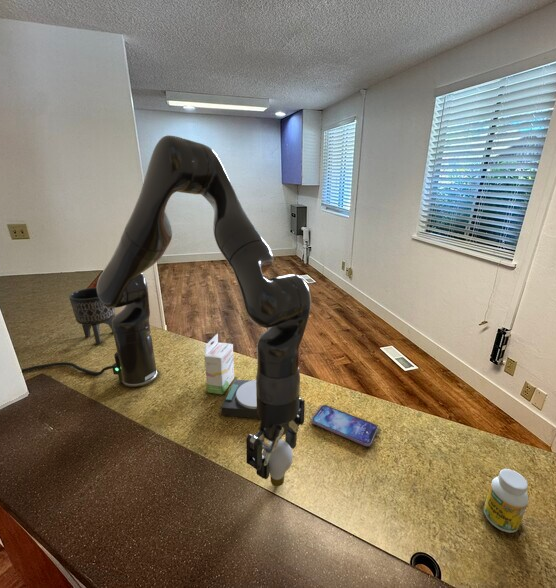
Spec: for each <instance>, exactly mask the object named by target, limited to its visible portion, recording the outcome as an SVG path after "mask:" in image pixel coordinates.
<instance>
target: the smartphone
mask: <svg viewBox="0 0 556 588" xmlns="http://www.w3.org/2000/svg"><path fill="white" fill-rule="evenodd" d="M311 423H312V424H313V425H314V426H317V427H320V428H321V429H324V430H327V431H329V432H331V433H333V434H336V435H339V436H341V437H343V438H346V439H348V440H351V442H355V443H357V444H359V445H362V446H365V447H370V446H371V445H372V444H373V442H374V439H375V437H376V434H377V432H378V426H377V425H376V424H375V423H373V422H370V421H367V420H365V419H362V418H360V417H357V416H355V415H353V414H350V413H347V412H344V411H342V410H339V409H336V408H334V407H332V406H329V405H326V404H322V405H321V406H320V407H319V409H318V410H317V411H316V412H315V414H314V415H313V416H312V418H311Z"/></svg>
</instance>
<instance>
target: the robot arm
mask: <svg viewBox="0 0 556 588" xmlns="http://www.w3.org/2000/svg"><path fill="white" fill-rule="evenodd" d="M175 193H184V194H190V195H201V196H202V197H203V198H204V199H205V200H206V201H207V202H208V204H210V206H211V208H212V209H213V223H212V224H213V226H212V229H213V230H212V231H213V237H214V241H215V243H216V246H217V248H218V249H219V251H220V253H221V254H222V256H223V257H224V259H225V261H226V262H227V264H228V265H229V267H230V269H231V270H232V272H233V274H234V276H235V280H236V283H237V286H238V290H239V293H240V296H241V297H240V298H241V302H242V305H243V308H244V311H245V313H246V315H247V317H248V318H249V319H250V321H251V322H253V323H254V324H255V325H257V326H258V327H261V328H264V329H267V330H265V331H264V332H263V333H262V334H260V336H259V337H258V339H257V342H256V343H257V344H256V359H257V360H256V365H257V366H256V367H257V368H256V376H255V380H256V397H257V414H258V416H259V418H258V419H259V421H260V424H259V428H258V432H256V433H255V434H254V435H253V434H252V433H249V434H247V436H246V439H245V443H246V446H245V447H246V448H245V449H246V450H245V451H246V464H247V465H249V466H251V467H252V468H254V469H255V470H256V475H257V476H258V477H260V478H262V479H264V480H267V479H268V478H269V477H270V473H269V459H270V456H271V454H272V452H275V450H276V447H277V445H278V442H279V440H280V439H282V437H283V436H284V437H285V438H284V439H285V440H284V441H286V442H287V443H288V444H289V445H290V447H291V449H292V450H294V449H296V447H297V439H298V438H297V437H298V436H297V435H298V432H299V430H300V426H303V424H305V423H304V422H305V407H306V405H305V403H306V400H305V399H303V398H301V397H300V395H301V372H300V349H301V348H300V347H301V342H302V340H303V338H304V334H305V331H306V328H307V324H308V320H309V317H310V313H311V309H312V295H311V291H310V287H309V285H308V284H307V282H306V280H305V279H304V278H303V277H302V276H300V275H298V274H295V273H291V274H284V275H283V274H282V275H280V276H276V277H272V278H266V277H265V276H264V275H265V274H266V273H267V272H268V271H269V270H270V269H271V268H272V266H273V264H274V253H273V251H272V250H271V248H270V246H269V245H268V244H267V242H266V241H265V240H264V238H263V236H262V235H261V234H260V232H259V231H258V230H257V228H256V227H255V225H254V224H253V223H252V221H251V219H250V218H249V217H248V215H247V213H246V212H245V210H244V208H243V206H242V204H241V201H240V200H239V197H238V196H237V193H236V190H235V189H234V187H233V184H232V182H231V180H230V179H229V176H228V174H227V172H226V170H225V167H224V165H223V164H222V162H221V160H220V158H219V157H218V154H217V153H216V152H215V151H214V149H212V148H211V147H210V146H208V145H206V144H204V143H200V142H198V141H197V142H196V141H193V140H190V139H186V138H183V137H180V136H176V135H170V134H169V135H165V136H162V137H161V138H160V139H159V140H158V142H157V143H156V145H155V147H154V149H153V151H152V154H151V156H150V159H149V162H148V165H147V170H146V173H145V176H144V179H143V183H142V186H141V190H140V193H139V196H138V197H137V201H136V203H135V205H134V208H133V210H132V212H131V215H130V217H129V219H128V221H127V222H126V224H125V226H124V229H123V231H122V234H121V236H120V238H119V242H118V243H117V246H116V248H115V250H114V252H113V254H112V256H111V258H110V260H109V261H108V263H107V264H106V266H105V268H104V269H103V271H102V272H101V273H100V275H99V277H98V279H97V283H96V288H97V296H98V298H99V300H100V302H101V303H102V304H103V305H104V306H106V307H109V308H115V309H117V308H122V307H124V308H123V309H122V310H121V311H119V312H118V313H117V314H115V317H114V318H113V319H112V322H111V323H112V329H113V332H112V334H113V339H114V343H115V348H116V349H115V350H116V352H115V353H114V354H113V357H114V361H115V363H114V364H112V365H109V366H105V367H103V368H102V369H101V370H100V371H91V370H89V369H86V368H83V367H81V366H79V365H77V364H75V363H73V362H67V361H66V362H65V361H63V362H53V363H47V364H39V365H34V366H30V367H26V368H21V369H22V372H21V373H23V372H27V371H33V370H36V369H42V368H49V367H56V366H70V367H73V368H74V369H76V370H78V371H81V372H83V373H86V374H89V375H93V376H100V375H102V374H104V373H105V372H106V371H108V370H112V372H113V375H117V376H118V381H119V383H120V384H122V385H123V386H125V387H128V388H139V387H144V386H147V385H149V384H150V383H152V382H154V381H155V380H156V379H157V377H158V370H157V365H156V364H157V363H156V357H155V350H154V344H153V336H152V330H151V324H150V317H151V308H150V299H149V298H150V296H149V288H148V283H147V280H146V278H145V276H144V274H143V273H144V272H146V271H147V270H148V269H150V268H152V266H154V265H155V264H156V263H158V261H160V259H161V258H162V257H163V255H164V253H165V252H166V251H167V249H168V247H169V245H170V243H171V241H172V239H173V229H172V223H171V221H170V218H169V215H168V213H167V209H166V208H167V206H168V202H169V200H170V198H171V197H172V195H174V194H175ZM265 439H266V440H267V441H269V442H270V441H271V442H272V444H271V445H269V444H268V443H267V442H266V441H265ZM263 450H266V454H265V456H263V455H262V453H263Z"/></svg>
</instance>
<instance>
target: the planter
mask: <svg viewBox="0 0 556 588" xmlns="http://www.w3.org/2000/svg"><path fill="white" fill-rule="evenodd" d="M68 298H69V301H70V306H71V308H72V311H73V314H74V318H75V322H77V323H78V324H79V325H81V327H82V330H83V334H84V337H85V338H90V337H91V336H92V335H91V329H92V333H93V336H94V340H95V345H96V346H97V345H101V344H102V340H101V334H100V324H101V325H102V324H105V325H107V326H108V327H109V328H110V329H111V332H112V333H113V329H112V323H111V322H112V319H113V318H114V317H115V316H116V308H109V307H106V306H104V305H103V304H102V303H101V302H100V300H99V298H98V296H97V287H89V288H88V287H87V288H84V289H79V290H77V291H74V292H72V293H70V294H69V295H68Z"/></svg>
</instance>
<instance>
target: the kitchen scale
mask: <svg viewBox="0 0 556 588" xmlns="http://www.w3.org/2000/svg"><path fill="white" fill-rule="evenodd" d="M220 409H221V410H220V411H221V416H229V417H237V418H238V417H239V418H251V419H260V418H259V416H258V414H257V397H256V379H254V380H253V379H252V380H249V379H248V380H247V379H237V378H234V379H233V381H232V383H231V386H230V388H229V390H228V392H227V394H226V396H225V399H224V401H223V403H222V405H221V407H220Z"/></svg>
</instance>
